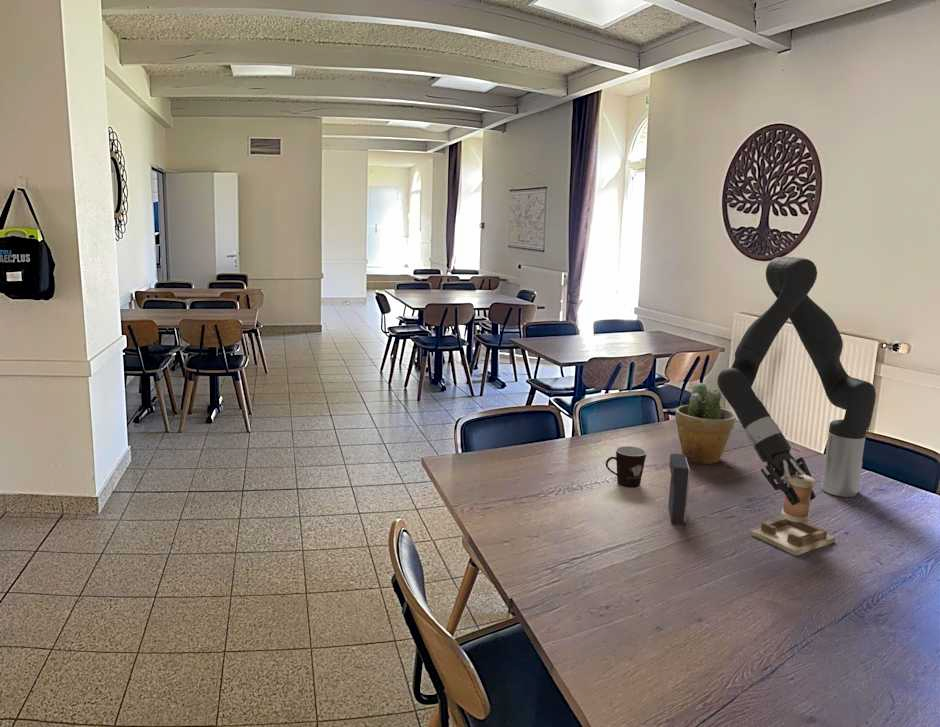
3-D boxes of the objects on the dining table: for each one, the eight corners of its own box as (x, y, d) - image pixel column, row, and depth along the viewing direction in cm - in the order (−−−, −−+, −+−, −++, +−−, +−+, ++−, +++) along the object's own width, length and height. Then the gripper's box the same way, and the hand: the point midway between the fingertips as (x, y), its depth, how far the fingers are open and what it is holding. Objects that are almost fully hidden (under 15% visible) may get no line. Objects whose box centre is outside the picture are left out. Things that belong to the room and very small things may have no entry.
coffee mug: (641, 479, 205) (644, 446, 203) (645, 490, 197) (648, 456, 195) (601, 476, 206) (604, 444, 204) (604, 487, 198) (606, 454, 196)
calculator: (686, 525, 175) (692, 469, 172) (668, 523, 176) (674, 467, 173) (682, 507, 185) (687, 454, 182) (665, 506, 186) (670, 453, 183)
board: (790, 522, 178) (791, 511, 177) (834, 542, 168) (836, 530, 167) (751, 535, 170) (752, 523, 170) (795, 555, 160) (797, 544, 160)
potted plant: (659, 452, 229) (665, 379, 224) (702, 446, 237) (709, 374, 231) (699, 471, 213) (706, 392, 207) (744, 463, 220) (752, 387, 215)
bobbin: (791, 509, 172) (796, 471, 170) (814, 519, 167) (820, 479, 165) (775, 514, 169) (780, 475, 167) (798, 524, 164) (804, 484, 161)
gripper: (758, 435, 166) (797, 500, 159) (796, 428, 174) (834, 489, 166) (737, 450, 172) (774, 513, 164) (774, 442, 179) (811, 502, 172)
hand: (804, 501), depth 165 cm, fingers closed on bobbin, 5 cm apart
